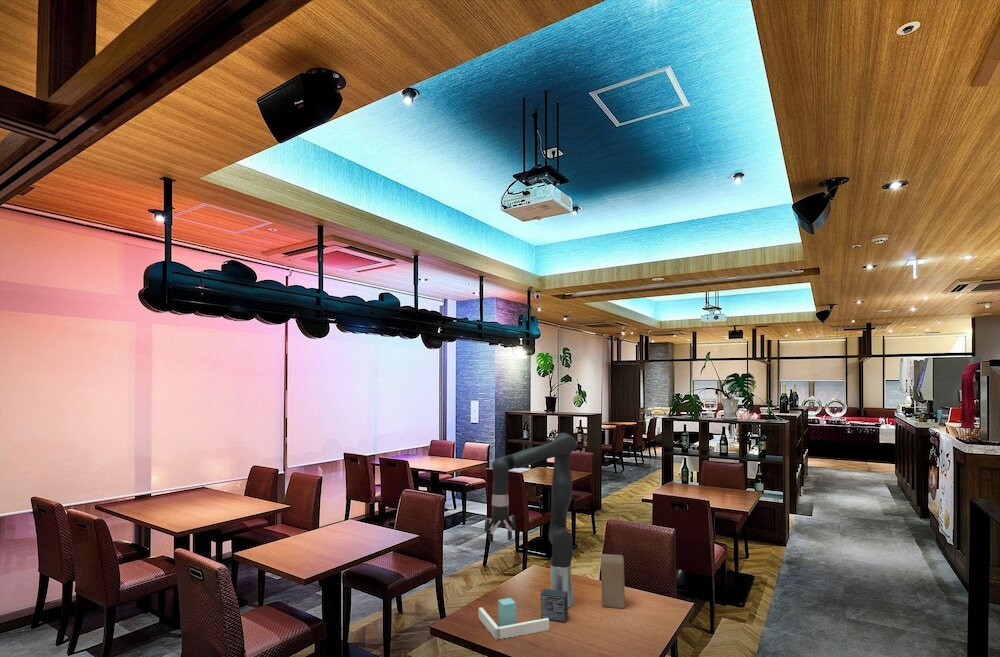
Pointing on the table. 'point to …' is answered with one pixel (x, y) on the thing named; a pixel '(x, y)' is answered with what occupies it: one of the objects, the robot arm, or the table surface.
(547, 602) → the small box
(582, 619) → the table surface
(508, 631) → the white l-shaped bracket
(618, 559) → the block
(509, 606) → the teal block
